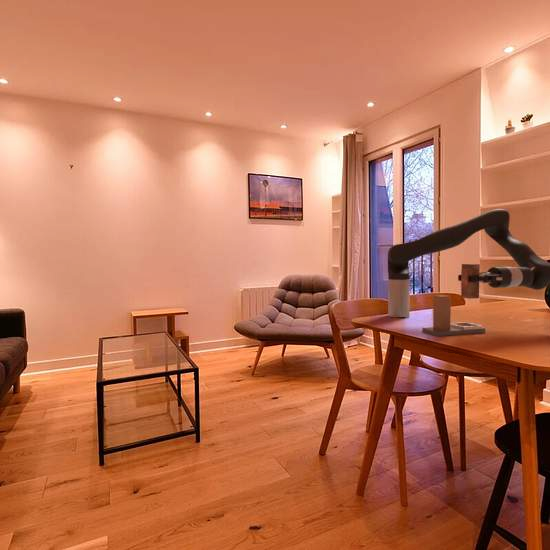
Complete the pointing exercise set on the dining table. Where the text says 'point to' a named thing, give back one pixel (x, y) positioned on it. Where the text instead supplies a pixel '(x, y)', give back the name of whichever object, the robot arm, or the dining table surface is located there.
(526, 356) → the dining table surface
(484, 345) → the dining table surface
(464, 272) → the wooden post
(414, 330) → the dining table surface
